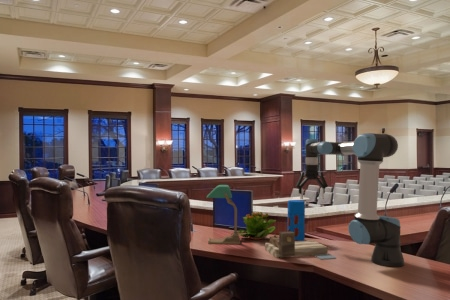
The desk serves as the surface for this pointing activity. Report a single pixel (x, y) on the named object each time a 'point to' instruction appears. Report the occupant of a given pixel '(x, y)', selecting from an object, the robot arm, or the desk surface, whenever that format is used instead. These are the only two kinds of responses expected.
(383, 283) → the desk surface
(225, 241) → the banker's lamp
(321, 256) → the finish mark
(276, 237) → the marking gauge
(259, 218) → the potted flower
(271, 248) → the log raft
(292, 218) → the blue slotted block
